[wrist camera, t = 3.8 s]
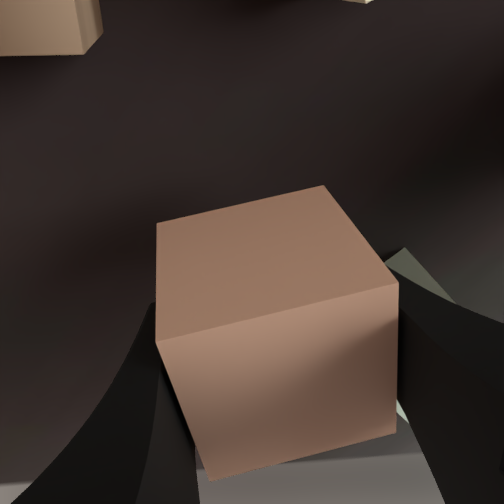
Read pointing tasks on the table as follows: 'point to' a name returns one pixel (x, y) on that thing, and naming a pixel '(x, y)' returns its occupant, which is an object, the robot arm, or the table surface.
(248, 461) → the terracotta cube
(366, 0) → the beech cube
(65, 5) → the tan cube
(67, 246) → the table surface
